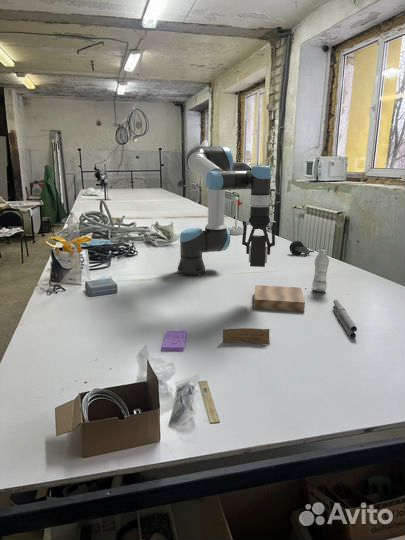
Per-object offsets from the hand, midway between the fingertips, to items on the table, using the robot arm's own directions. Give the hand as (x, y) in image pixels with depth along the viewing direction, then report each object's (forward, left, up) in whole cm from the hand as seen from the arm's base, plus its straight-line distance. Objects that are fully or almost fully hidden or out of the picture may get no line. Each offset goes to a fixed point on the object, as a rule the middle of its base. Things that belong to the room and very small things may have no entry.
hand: (257, 261), depth 153 cm
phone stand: (0, 0, -1) cm, 1 cm away
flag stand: (-21, +151, -18) cm, 153 cm away
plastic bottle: (+28, +18, -18) cm, 38 cm away
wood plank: (-2, -39, -18) cm, 43 cm away
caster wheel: (+26, +87, -18) cm, 92 cm away
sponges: (-26, -41, -18) cm, 52 cm away
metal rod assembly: (+33, -17, -18) cm, 41 cm away
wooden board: (+9, +1, -17) cm, 20 cm away
